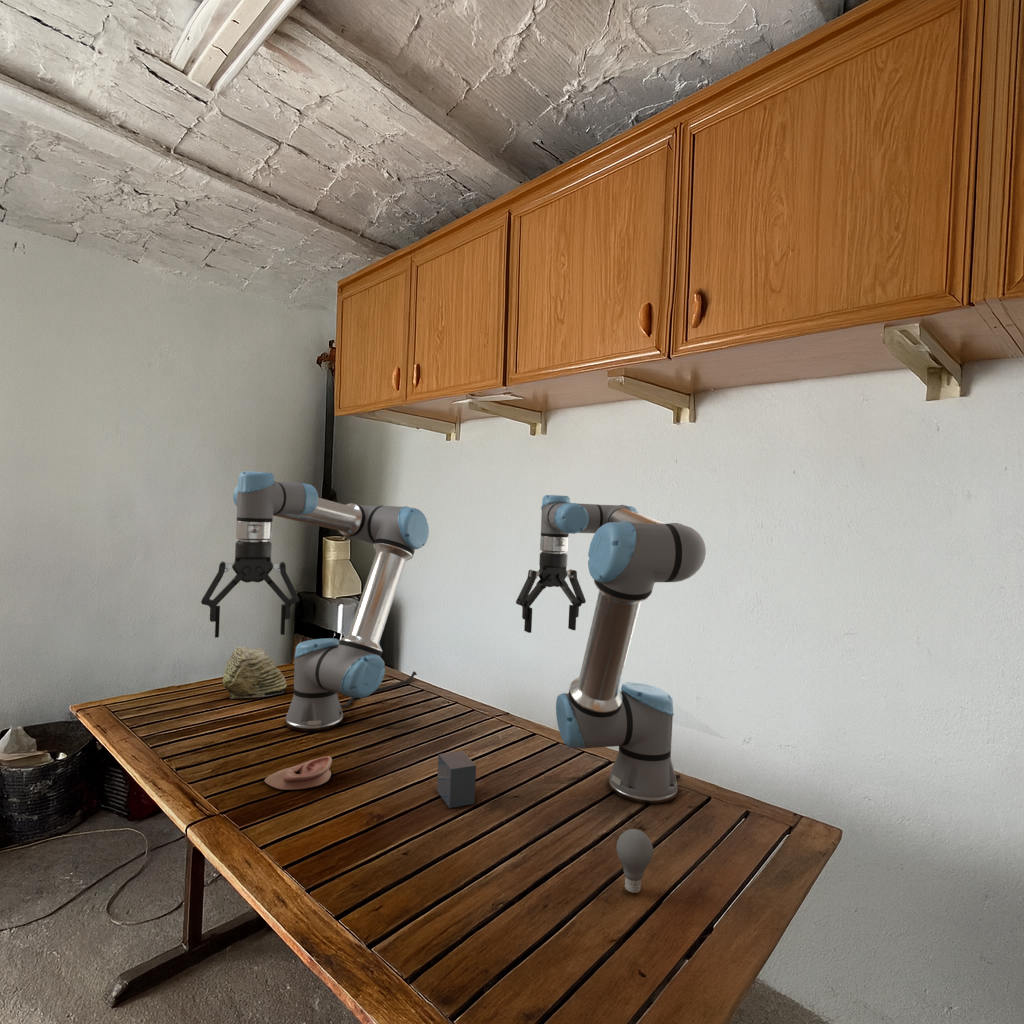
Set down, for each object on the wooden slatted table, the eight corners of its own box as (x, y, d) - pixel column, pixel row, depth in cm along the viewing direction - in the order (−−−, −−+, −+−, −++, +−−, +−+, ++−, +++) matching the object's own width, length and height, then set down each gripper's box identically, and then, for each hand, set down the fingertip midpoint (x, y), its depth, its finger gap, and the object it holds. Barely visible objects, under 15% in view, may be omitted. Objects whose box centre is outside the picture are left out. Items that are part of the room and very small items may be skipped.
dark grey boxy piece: (436, 791, 139) (438, 754, 139) (460, 787, 141) (462, 750, 141) (449, 808, 131) (451, 769, 131) (474, 803, 134) (476, 765, 134)
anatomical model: (256, 768, 137) (286, 748, 148) (256, 786, 137) (285, 765, 148) (313, 776, 134) (338, 755, 145) (312, 794, 134) (338, 772, 145)
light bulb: (610, 879, 108) (613, 822, 108) (644, 879, 109) (647, 822, 109) (619, 902, 102) (622, 840, 102) (655, 901, 103) (658, 840, 103)
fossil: (218, 695, 195) (220, 647, 195) (278, 685, 208) (279, 640, 207) (228, 703, 189) (230, 653, 188) (289, 692, 201) (290, 645, 201)
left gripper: (190, 540, 133) (186, 641, 134) (313, 542, 143) (310, 635, 144) (192, 538, 140) (189, 633, 141) (310, 540, 150) (306, 629, 151)
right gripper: (518, 553, 162) (514, 635, 162) (600, 553, 173) (596, 631, 173) (505, 550, 169) (502, 629, 169) (585, 551, 180) (582, 625, 180)
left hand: (250, 635), depth 142 cm, fingers open, 13 cm apart
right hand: (550, 630), depth 171 cm, fingers open, 13 cm apart
